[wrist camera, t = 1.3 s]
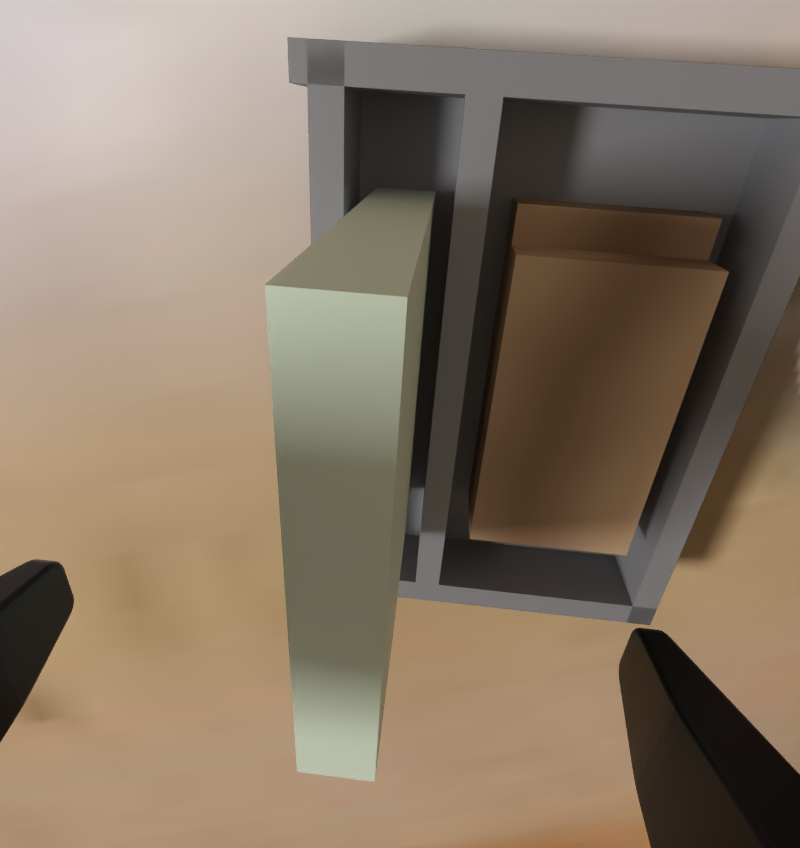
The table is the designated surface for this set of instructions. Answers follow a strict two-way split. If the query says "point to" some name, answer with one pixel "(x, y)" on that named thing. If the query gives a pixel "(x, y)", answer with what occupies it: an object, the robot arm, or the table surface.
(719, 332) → the rack
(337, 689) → the board
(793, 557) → the table surface
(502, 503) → the offcut top
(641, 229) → the offcut low
